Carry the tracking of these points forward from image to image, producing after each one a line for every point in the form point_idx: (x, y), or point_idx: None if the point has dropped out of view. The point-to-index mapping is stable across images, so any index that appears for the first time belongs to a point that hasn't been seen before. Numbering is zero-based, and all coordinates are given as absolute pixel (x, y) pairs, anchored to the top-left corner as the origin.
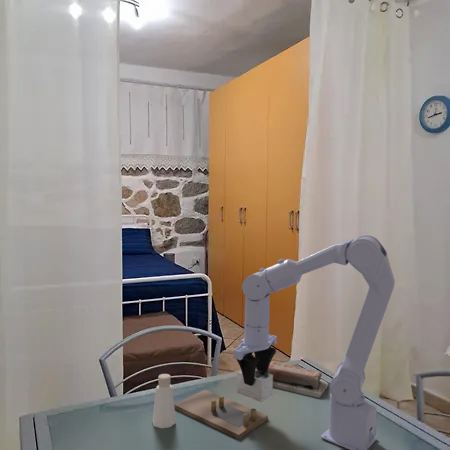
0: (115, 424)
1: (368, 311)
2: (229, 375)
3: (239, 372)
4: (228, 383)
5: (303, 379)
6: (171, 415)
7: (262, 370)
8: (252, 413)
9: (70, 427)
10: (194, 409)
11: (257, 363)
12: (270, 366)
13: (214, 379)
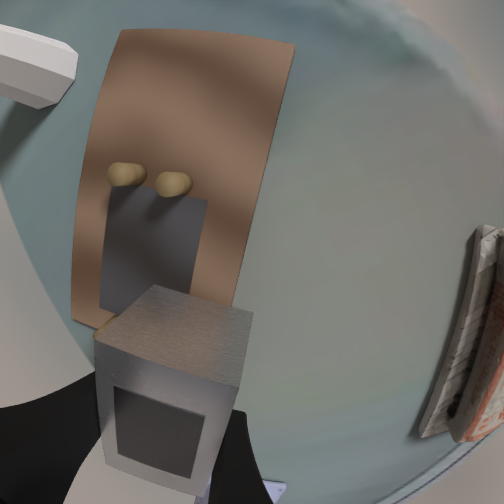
0: (27, 10)
1: None
2: (484, 97)
3: (96, 352)
4: (430, 111)
5: (469, 406)
6: (23, 100)
7: (214, 468)
8: None
9: None
10: (116, 105)
11: (222, 473)
12: None
13: (427, 48)
